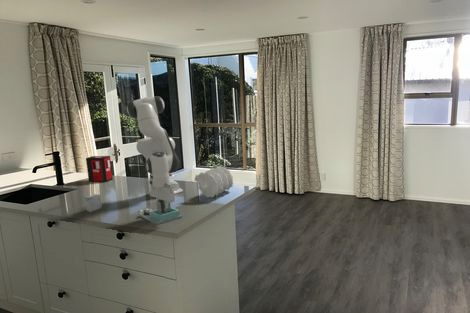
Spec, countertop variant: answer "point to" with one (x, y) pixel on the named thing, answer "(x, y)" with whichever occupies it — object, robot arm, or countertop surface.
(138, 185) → the countertop surface
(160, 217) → the end holder
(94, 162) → the cleaning product box
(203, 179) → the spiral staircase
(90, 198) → the medicine box
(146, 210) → the board
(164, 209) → the block
